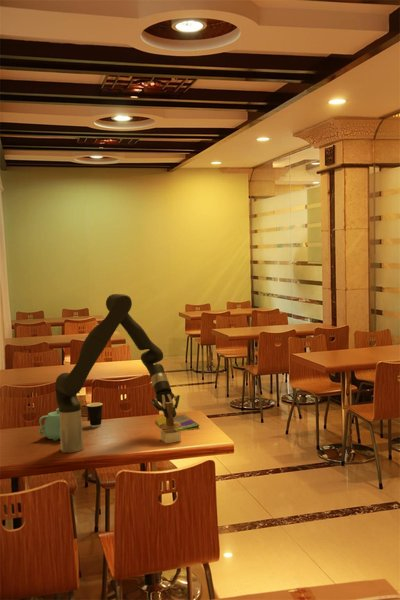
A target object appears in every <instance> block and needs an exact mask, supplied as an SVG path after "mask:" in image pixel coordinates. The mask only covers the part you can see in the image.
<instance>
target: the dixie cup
mask: <svg viewBox="0 0 400 600" xmlns="http://www.w3.org/2000/svg"><path fill="white" fill-rule="evenodd" d="M86 407H87V412H88V413H87V414H88V418H89V424H90V427H91V428H100V427H101V426H102V425H101V424H102V416H103V415H102V414H103V403H102V402H91V403H87V404H86Z"/></svg>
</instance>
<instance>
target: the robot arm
mask: <svg viewBox="0 0 400 600" xmlns="http://www.w3.org/2000/svg"><path fill="white" fill-rule="evenodd" d="M132 302H133V301H132V299H131V297H130V296H129V295H127V294H124V293H113V294H110V295H108V297H107V299H106V301H105V307H106V309H107V311H108V313H107V314H106V317H104V319H102V320H101V321H100V322H99V323H98V324H96V326H94V327H93V328H92V329H91V330H90V331H89V333H88V334H87V336H86V338H85V339H84V341H83V342H82V344H81V348H80V351H79V355H78V359H77V361H76V363H75V365H74V366H73V369H71V371H70V372H63V373H60V374H58V376H57V378H56V379H55V384H54V388H55V398H56V404H57V407H58V408H59V417H60V428H59V431H60V439H59V441H60V442H59V443H60V450H61V453H62V454H63V453H76V452H80V451H82V450H83V449H84V441H83V440H84V436H83V424H82V423H83V422H82V421H83V420H82V406H81V403H80V401H79V399H78V397H77V395H78V394H79V393H80V391H81V390H82V388H83V386H84V385H85V383H86V381H87V378H88V376H89V374H90V372H91V370H92V369H93V368H94V366H95V365H96V362H97V361H98V359H99V357H100V356H101V355H102V353H103V351H104V350H105V348H106V346H107V345H108V343H109V341H110V339H111V338H112V337H113V335H114V333H115V331H116V330H117V328H118V327H119V326H122V327H123V329H124V331H125V332H127V334H128V336H129V337H130V339H131V340H132V342H133V343H134V345H135V347H136V348H137V349H138V350H139V351H144V352H142V354H140V360H141V361H140V362H141V363H142V364H143V365H144V367H145V368H146V369H147V371H148V374H149V378H150V379H151V380H150V381H151V386H152V388H153V391H154V395H155V397H153V398H152V399H151V405H152V406H153V407H154V408H156V409H157V411H158V412H162V413H163V417H166V418H168V417H169V414H168V411H167V409H166V405H165V402H172V403H173V417H175V416H176V415H177V411H176V409H178V407H179V402H180V397H181V396H180V395H179V394H177V395H175V394H174V393H173V391H172V388H171V387H172V386H171V385H170V382H169V378H168V376H167V374H166V371H165V368H164V366H163V365H162V363H161V364H160V363H158V362H160V361H162V360H163V359H164V352H163V351H162V349H161V348H160V347H158V345H156V344H155V343H154V342H153V341H152V340H151V338H150V337H149V336H148V334H147V333H146V331H145V329H143V327H142V326H141V325H140V324H139V323H138V322H136V320H134V318H133V317H132V316H131V315H130V311H131V310H132V306H133V305H132V304H133V303H132ZM145 350H146V351H145ZM173 400H174V401H175V402H174V401H173ZM174 403H175V404H174Z"/></svg>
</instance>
